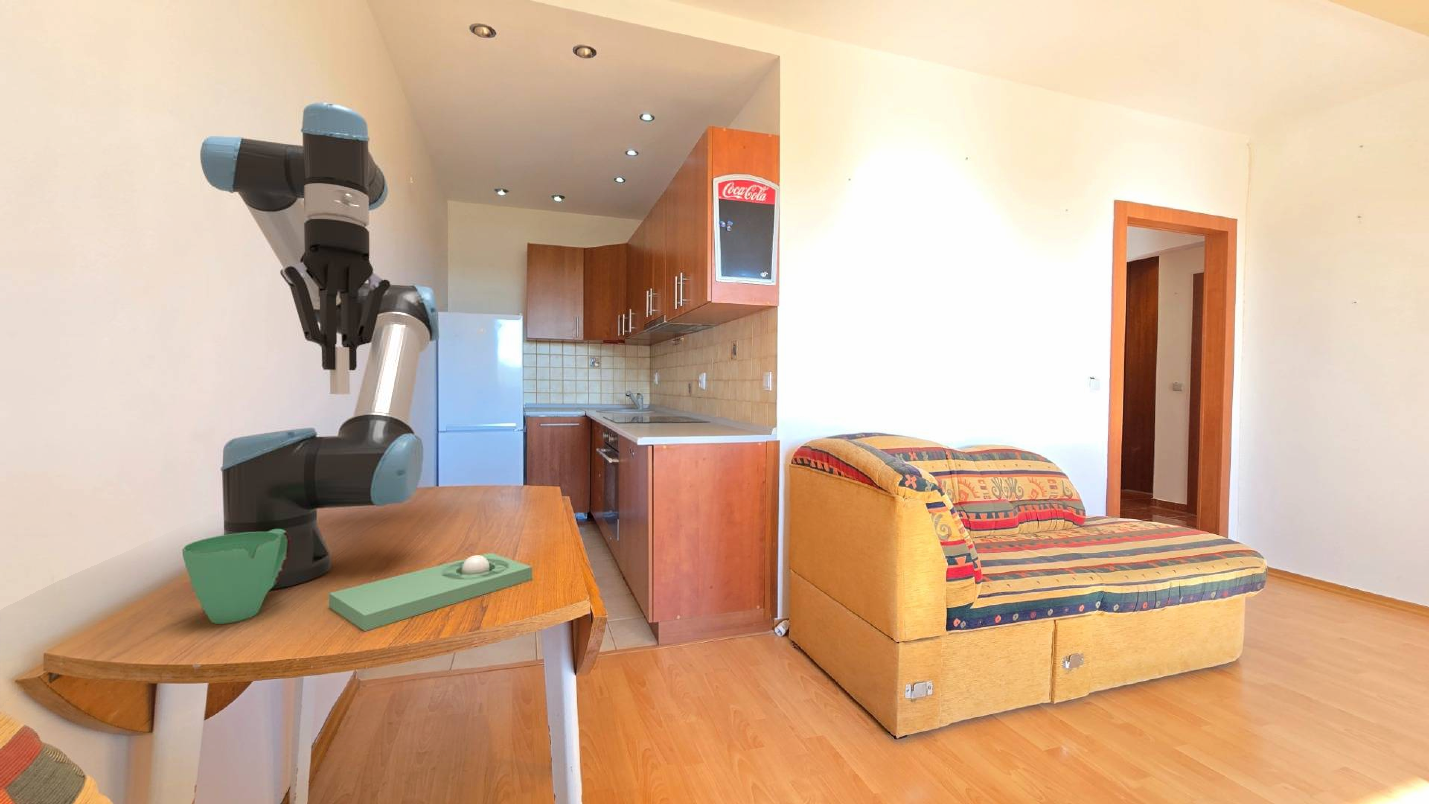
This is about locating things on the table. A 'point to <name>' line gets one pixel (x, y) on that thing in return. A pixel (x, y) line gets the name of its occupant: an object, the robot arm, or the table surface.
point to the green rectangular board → (423, 591)
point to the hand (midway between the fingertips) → (339, 393)
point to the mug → (236, 572)
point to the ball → (475, 565)
